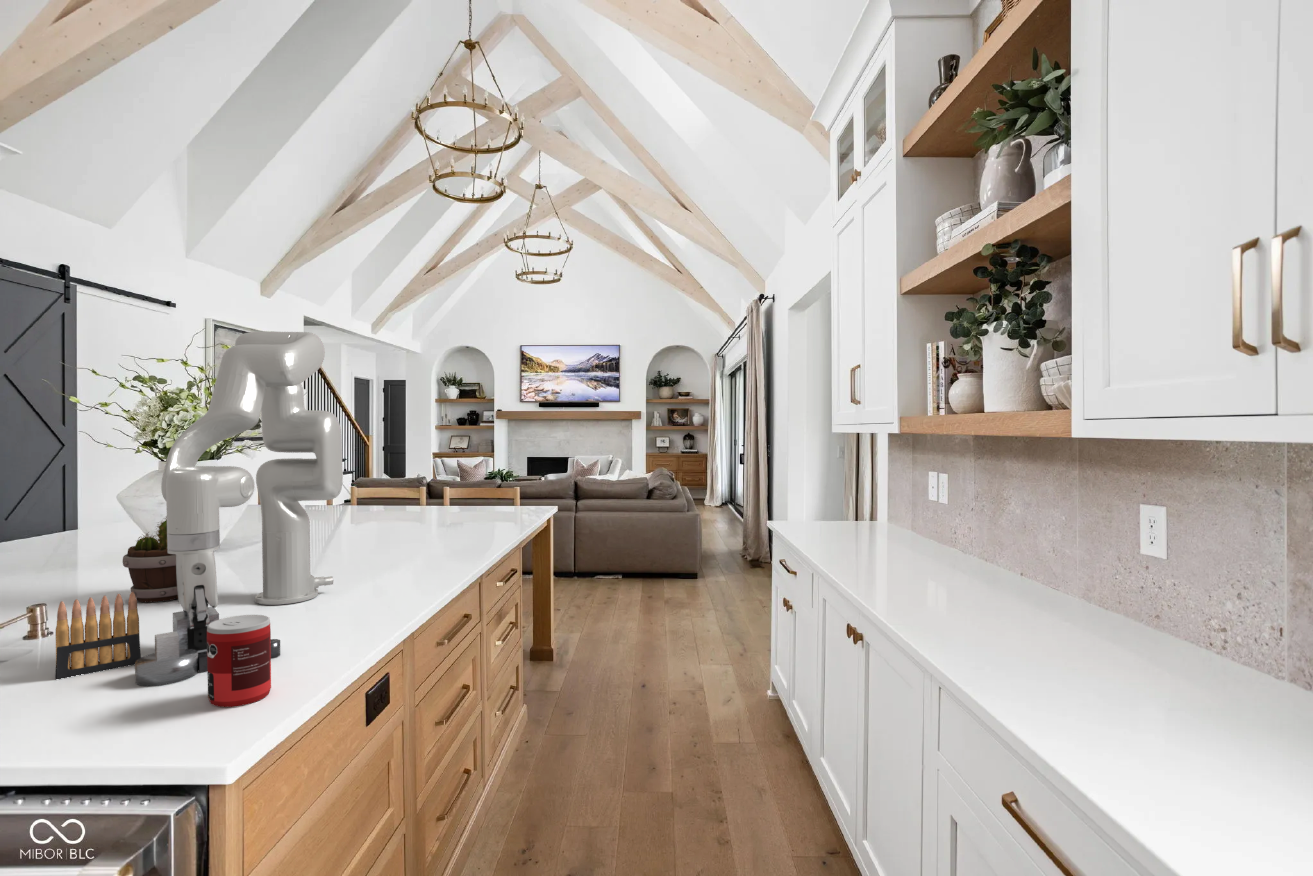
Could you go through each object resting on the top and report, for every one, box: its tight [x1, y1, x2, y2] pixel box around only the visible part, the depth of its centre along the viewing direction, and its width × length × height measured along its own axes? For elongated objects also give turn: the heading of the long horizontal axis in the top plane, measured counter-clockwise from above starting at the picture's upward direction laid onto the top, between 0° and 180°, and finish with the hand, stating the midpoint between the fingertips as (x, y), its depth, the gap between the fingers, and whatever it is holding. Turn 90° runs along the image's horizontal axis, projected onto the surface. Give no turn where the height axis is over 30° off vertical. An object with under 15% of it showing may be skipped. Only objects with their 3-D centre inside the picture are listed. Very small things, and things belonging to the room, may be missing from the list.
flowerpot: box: [122, 515, 179, 603], centre depth 156 cm, size 14×15×20 cm
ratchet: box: [134, 631, 281, 687], centre depth 111 cm, size 20×8×6 cm, turn 131°
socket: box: [172, 606, 220, 653], centre depth 119 cm, size 6×6×7 cm
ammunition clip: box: [54, 591, 142, 680], centre depth 110 cm, size 11×2×12 cm, turn 133°
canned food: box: [206, 614, 272, 708], centre depth 99 cm, size 8×8×11 cm
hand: (196, 644), depth 119 cm, fingers closed on socket, 6 cm apart
